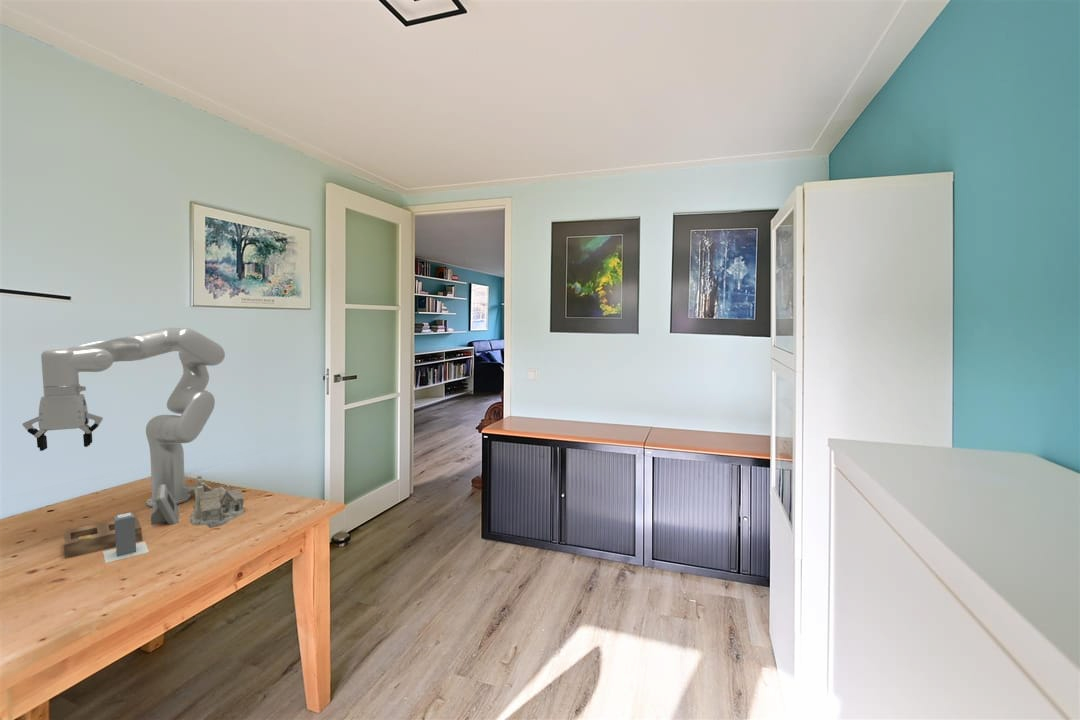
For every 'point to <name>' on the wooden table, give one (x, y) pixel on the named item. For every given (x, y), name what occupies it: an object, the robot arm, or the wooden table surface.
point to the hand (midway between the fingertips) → (65, 447)
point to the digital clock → (164, 507)
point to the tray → (112, 556)
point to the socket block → (93, 538)
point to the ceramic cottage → (215, 505)
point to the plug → (125, 534)
